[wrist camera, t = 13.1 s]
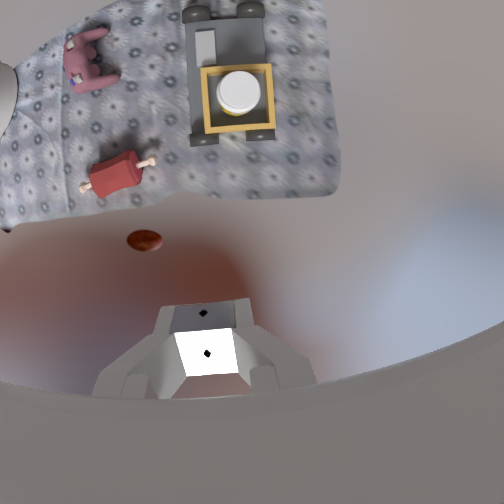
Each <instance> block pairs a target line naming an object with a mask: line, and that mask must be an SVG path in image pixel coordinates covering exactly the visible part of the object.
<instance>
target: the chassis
mask: <svg viewBox="0 0 504 504" xmlns="http://www.w3.org/2000/svg"><path fill="white" fill-rule="evenodd" d="M236 10H237V18H238V19H222V20H210V9H209V8H208V7H206V6H201V5H198V6H191V7H188V8H185V9H184V10H183V11H182V23H183V24H185V31H186V54H187V72H188V88H189V102H190V114H191V126H192V134H189V138H190V147H195V146H204V145H212V144H219V136H218V133H223V132H234V131H246V141H261V140H275V129H276V121H275V107H274V93H273V80H272V68H271V64H266V54H265V43H264V32H263V22H262V19H263V18H264V17H265V9H264V5H263V4H262V3H259V2H245V3H241V4H239V5H238V6H237V7H236ZM234 71H245V72H248V73H250V74H252V75H253V76H254V77H255V78H256V79H257V81H258V83H259V86H260V90H261V95H260V99H259V101H258V103H257V105H256V106H255V107H254V108H253V109H251V110H250V111H249V112H248V113H246V114H244V115H241V116H231V115H228V114H226V113H225V112H223V111H222V110H221V108H220V107H219V104H218V101H217V96H216V90H217V86H218V84H219V82H220V81H221V79H222V78H223V77H225V76H226V75H228V74H229V73H231V72H234Z"/></svg>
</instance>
